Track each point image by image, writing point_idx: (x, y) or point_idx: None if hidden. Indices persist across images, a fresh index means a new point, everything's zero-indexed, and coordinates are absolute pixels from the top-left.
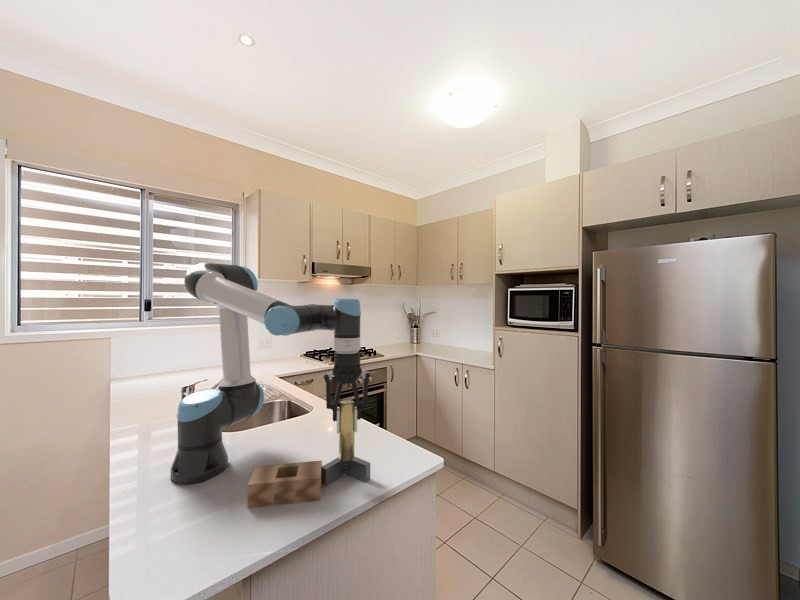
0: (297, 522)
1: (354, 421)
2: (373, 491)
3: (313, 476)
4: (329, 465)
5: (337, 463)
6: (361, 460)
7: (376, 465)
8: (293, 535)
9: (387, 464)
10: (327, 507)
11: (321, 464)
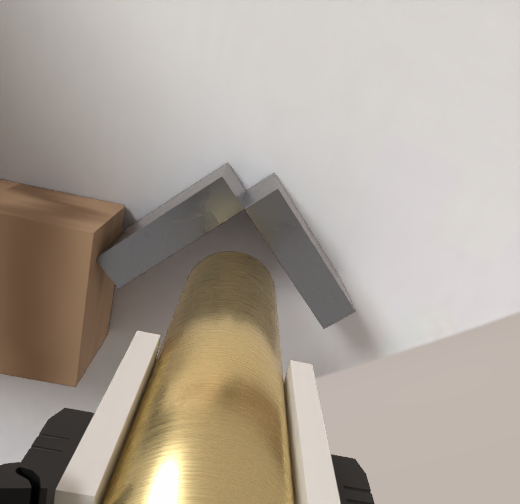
0: (27, 408)
1: None
2: (322, 351)
3: (43, 365)
4: (139, 259)
5: (188, 244)
6: (318, 274)
7: (419, 167)
8: (18, 453)
9: (475, 180)
10: None
11: (88, 274)
